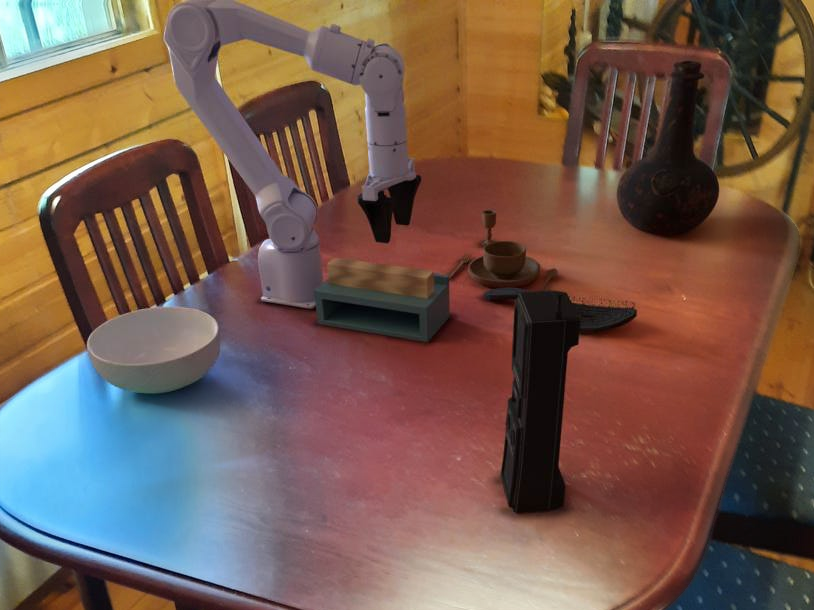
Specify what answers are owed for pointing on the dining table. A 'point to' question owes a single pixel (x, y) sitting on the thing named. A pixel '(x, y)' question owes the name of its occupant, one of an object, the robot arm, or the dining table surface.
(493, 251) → the place setting
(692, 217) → the glass bottle
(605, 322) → the hairbrush
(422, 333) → the shelf
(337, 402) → the dining table surface
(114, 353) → the cereal bowl
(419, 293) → the stick
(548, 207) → the dining table surface
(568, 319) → the portable radio
